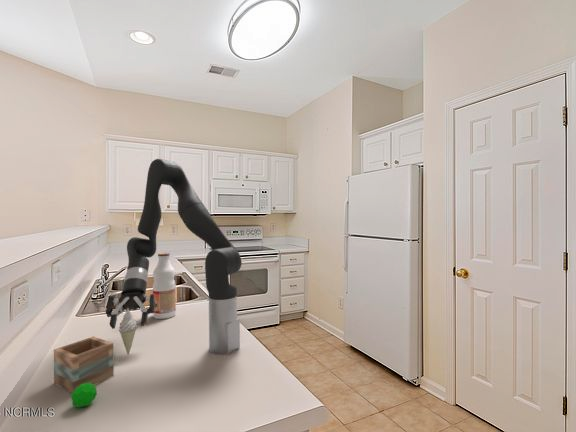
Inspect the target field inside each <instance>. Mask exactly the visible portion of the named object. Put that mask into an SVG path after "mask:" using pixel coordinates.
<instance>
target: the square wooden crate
mask: <svg viewBox="0 0 576 432" xmlns="http://www.w3.org/2000/svg"><path fill="white" fill-rule="evenodd" d="M114 375H115V374H114V343H113V342H112V341H108V340H105V339H102V338H101V337H100V338H99V337H96V336H90V337H88V338H84V339H82V340H79V341H76V342H73V343H70V344H67V345H64V346H61V347H58V348H55V349H53V385H56V386H57V387H59V388H62V389H63V390H65V391H66V392H68V393H71V394H72V393H73V391H74V390H75V389H76V388H77V387H78V386H80V385H81V384H83V383H92V384H94V385H97V384H98V383H101V382H102V381H105V380H107V379H109V378H111V377H114Z"/></svg>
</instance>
